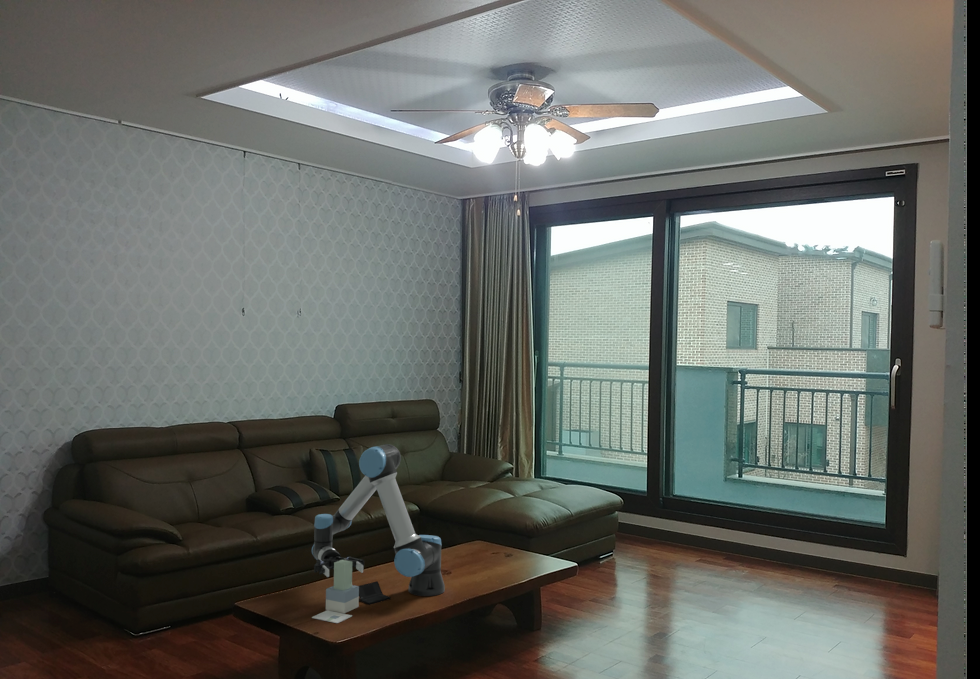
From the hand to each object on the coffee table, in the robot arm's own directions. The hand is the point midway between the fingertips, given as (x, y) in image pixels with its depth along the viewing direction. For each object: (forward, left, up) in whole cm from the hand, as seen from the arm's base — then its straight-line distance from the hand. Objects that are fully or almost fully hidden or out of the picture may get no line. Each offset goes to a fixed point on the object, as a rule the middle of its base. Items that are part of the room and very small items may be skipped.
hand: (345, 571), depth 300 cm
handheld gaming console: (-1, -17, -16) cm, 23 cm away
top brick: (+3, -2, -7) cm, 8 cm away
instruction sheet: (0, +8, -15) cm, 17 cm away
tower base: (+3, -2, -15) cm, 16 cm away
